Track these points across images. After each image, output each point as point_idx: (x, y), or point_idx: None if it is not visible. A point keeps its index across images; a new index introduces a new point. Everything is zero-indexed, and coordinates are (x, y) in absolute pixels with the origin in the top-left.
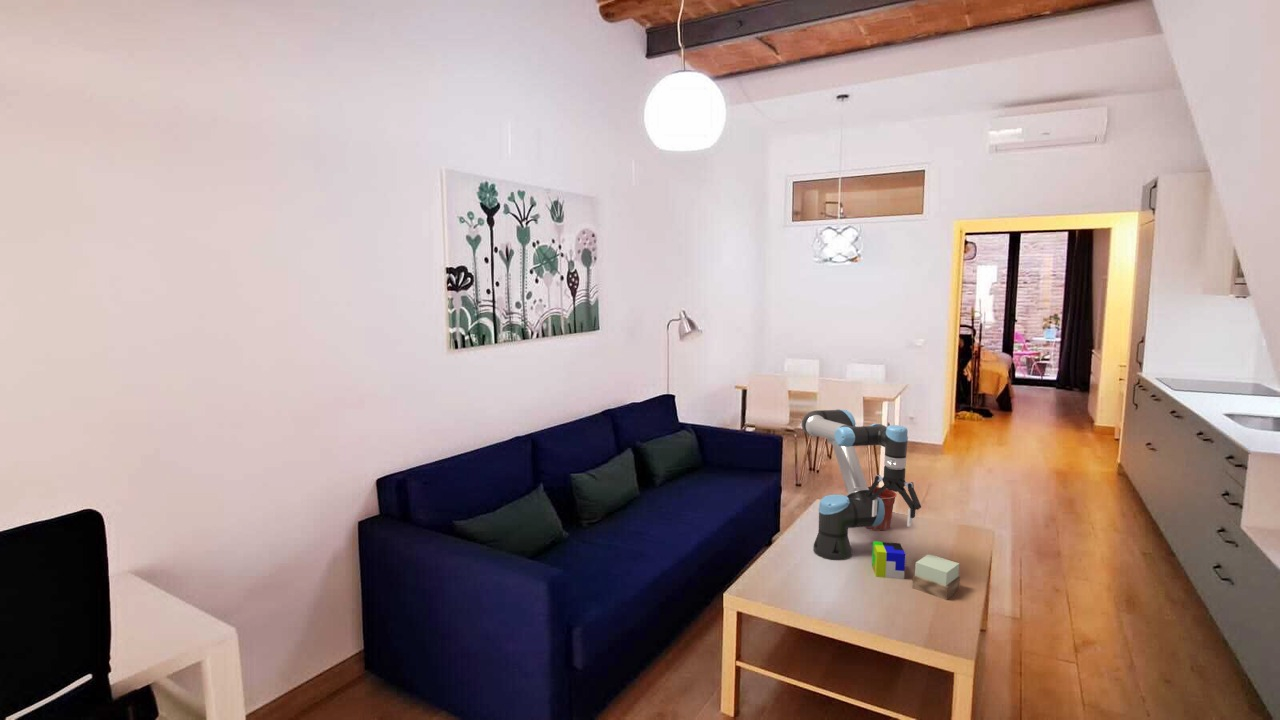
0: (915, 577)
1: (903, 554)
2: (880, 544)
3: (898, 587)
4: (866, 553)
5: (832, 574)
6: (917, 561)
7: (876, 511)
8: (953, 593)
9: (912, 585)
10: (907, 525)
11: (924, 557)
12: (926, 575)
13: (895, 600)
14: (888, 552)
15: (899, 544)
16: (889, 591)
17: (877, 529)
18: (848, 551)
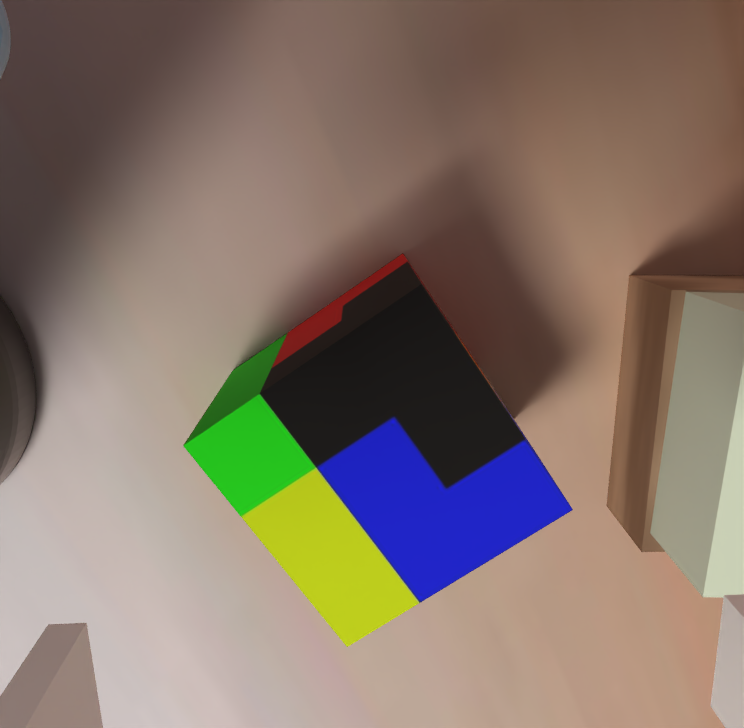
0: (659, 549)
1: (555, 517)
2: (281, 466)
3: (531, 560)
4: (71, 176)
5: (126, 692)
6: (709, 563)
7: (57, 700)
8: None
9: (613, 514)
10: (724, 716)
11: (738, 431)
12: None
13: (581, 721)
14: (432, 591)
15: (428, 318)
16: (509, 648)
17: None
18: (4, 403)
